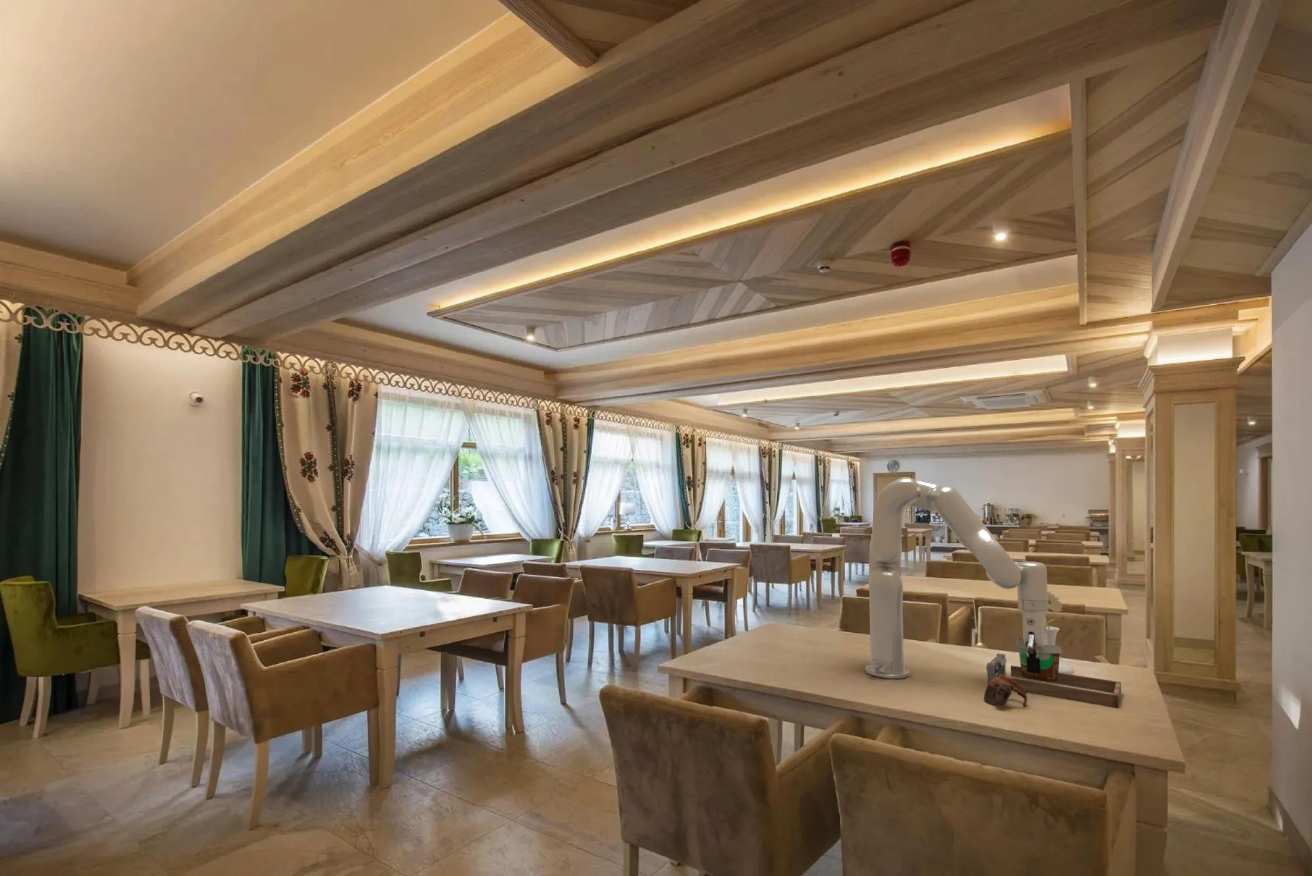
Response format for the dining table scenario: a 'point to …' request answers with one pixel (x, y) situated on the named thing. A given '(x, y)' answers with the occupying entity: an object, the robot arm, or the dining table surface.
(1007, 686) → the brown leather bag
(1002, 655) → the grey arched handle
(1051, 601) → the flower in vase
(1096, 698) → the long wooden tray
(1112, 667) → the dining table surface
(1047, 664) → the food container
